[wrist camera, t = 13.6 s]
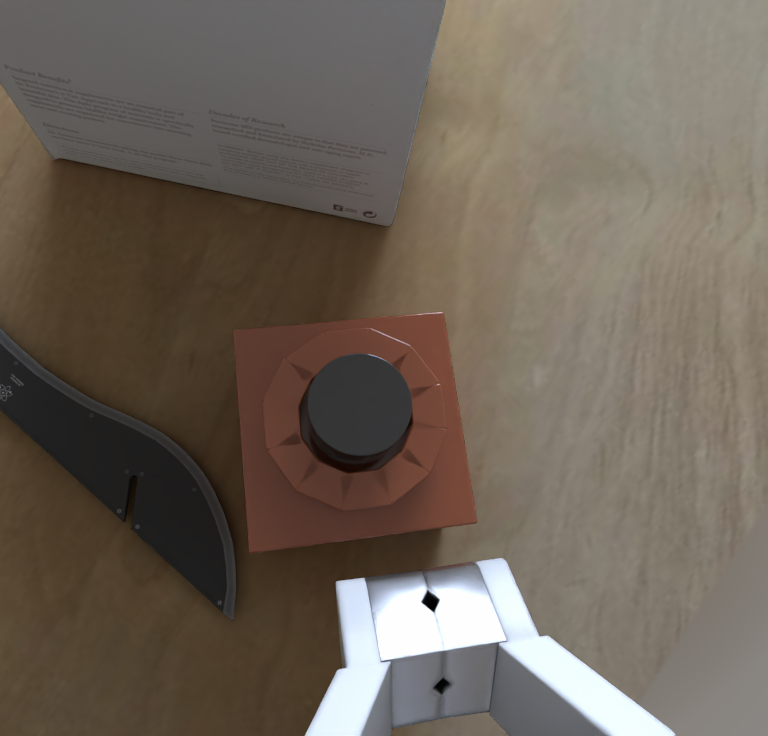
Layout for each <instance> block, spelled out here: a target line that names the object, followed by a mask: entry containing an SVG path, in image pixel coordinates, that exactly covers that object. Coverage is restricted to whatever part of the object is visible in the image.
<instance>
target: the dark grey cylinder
mask: <svg viewBox="0 0 768 736" xmlns="http://www.w3.org/2000/svg"><path fill="white" fill-rule="evenodd" d="M307 407H308V424H309V429H310V432H311V435H312V437H313V439H314V441H315V443H316V444H317V446H318V447H319V448H320V449H321V450H322V451H323V452H324V453H325V454H326V455H328V456H329V457H331V458H332V459H334V460H336V461H339V462H342V463H346V464H365V463H369V462H372V461H374V460H376V459H379V458H380V457H382V456H383V455H385V454H386V453H387V452H388V451H389V450H390V449H391V448H392V447H393V445H394V444H395V443H396V442H397V441H398V440H399V439H400V437H401V436H402V435H403V433H404V432H405V430H406V428H407V426H408V424H409V421H410V418H411V413H412V398H411V393H410V390H409V387H408V384H407V382H406V380H405V379H404V377H403V376H402V374H401V373H400V372H399V371H398V370H397V368H395V367H394V366H393V365H392V364H391V363H389V362H388V361H386V360H384V359H382V358H380V357H377V356H375V355H370V354H364V353H353V354H347V355H344V356H341V357H338V358H336V359H334V360H332V361H331V362H329V363H328V364H327V365H325V366H324V367H323V368H322V369H321V370H320V371H319V372H318V374H317V375H316V377H315V378H314V380H313V382H312V384H311V387H310V389H309V394H308V401H307Z"/></svg>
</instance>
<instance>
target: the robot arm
mask: <svg viewBox="0 0 768 736" xmlns="http://www.w3.org/2000/svg"><path fill="white" fill-rule="evenodd" d="M335 585H336V599H337V613H338V626H339V638H340V650H341V659H342V667H343V669H338V670H337V672H336V674H335V676H334V678H333V680H332V682H331V684H330V686H329V688H328V690H327V692H326V694H325V696H324V698H323V700H322V702H321V704H320V706H319V708H318V710H317V712H316V714H315V716H314V718H313V720H312V722H311V724H310V726H309V728H308V730H307V732H306V734H305V736H391V733H392V729H394V728H398V727H403V726H408V725H413V724H418V723H423V722H427V721H432V720H437V719H443V718H449V717H456V716H463V715H470V714H476V713H483V712H490V715H491V716H492V717H493V718H494V720H495V721H496V722H497V723H498V724H499V725H500V726H501V727H502V728H503V729H504V730H505V731H506V732H507V734H508V735H509V736H675V734H674V732H673V731H672V730H670V729H669V728H668V727H666V726H665V725H664V724H662V723H661V722H660V721H658V720H657V719H656V718H655V717H653V716H652V715H651V714H650V713H648V712H647V711H646V710H644V709H643V708H641V707H640V706H639V705H638V704H637V703H635V702H634V701H633V700H631V699H630V698H629V697H627V696H626V695H625V694H623V693H622V692H621V691H620V690H618V689H617V688H616V687H614V686H613V685H612V684H610V683H609V682H608V681H606V680H605V679H604V678H603V677H601V676H600V675H599V674H597V673H596V672H595V671H593V670H592V669H591V668H589V667H588V666H587V665H586V664H584V663H583V662H582V661H580V660H579V659H578V658H576V657H575V656H574V655H572V654H571V653H570V652H569V651H567V650H566V649H565V648H563V647H562V646H561V645H559V644H558V643H557V642H556V641H554V640H553V639H552V638H550V637H549V636H540V637H539V634H538V632H537V630H536V628H535V625H534V623H533V621H532V619H531V616H530V614H529V612H528V609H527V607H526V605H525V603H524V600H523V598H522V596H521V594H520V591H519V589H518V587H517V584H516V582H515V580H514V578H513V575H512V573H511V571H510V569H509V566H508V564H507V562H506V561H505V560H504V559H503V558H499V559H492V560H485V561H478V562H467V563H461V564H455V565H448V566H442V567H436V568H429V569H423V570H420V571H416V572H407V573H398V574H390V575H381V576H373V577H365V579H364V578H358V579H350V580H342V581H336V584H335Z"/></svg>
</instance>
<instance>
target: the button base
mask: <svg viewBox="0 0 768 736" xmlns="http://www.w3.org/2000/svg"><path fill="white" fill-rule="evenodd" d="M233 338H234V352H235V366H236V380H237V394H238V408H239V422H240V436H241V450H242V464H243V478H244V492H245V505H246V519H247V533H248V547H249V553H259V552H266V551H274V550H281V549H289V548H296V547H304V546H311V545H318V544H326V543H333V542H341V541H348V540H356V539H363V538H371V537H378V536H386V535H393V534H401V533H408V532H416V531H423V530H431V529H438V528H446V527H453V526H461V525H468V524H476V523H477V517H476V511H475V505H474V498H473V492H472V486H471V480H470V473H469V467H468V461H467V454H466V448H465V442H464V436H463V429H462V423H461V417H460V411H459V404H458V398H457V392H456V386H455V379H454V373H453V367H452V361H451V354H450V348H449V342H448V335H447V329H446V323H445V317H444V313H443V312H436V313H424V314H412V315H401V316H389V317H377V318H366V319H354V320H342V321H331V322H319V323H307V324H296V325H284V326H272V327H261V328H249V329H237V330H233ZM353 353H364V354H370V355H375V356H377V357H380V358H382V359H384V360H386V361H388V362H389V363H391V364H392V365H393V366H394V367H395V368H397V370H398V371H399V372H400V373H401V374H402V376H403V377H404V379H405V380H406V382H407V384H408V387H409V390H410V393H411V398H412V413H411V418H410V421H409V424H408V426H407V428H406V430H405V432H404V433H403V435H402V436H401V437H400V439H399V440H398V441H397V442H396V443H395V444H394V445H393V447H392V448H391V449H390V450H389V451H388V452H387V453H386V454H385V455H383V456H382V457H380V458H379V459H376V460H374V461H372V462H369V463H365V464H346V463H342V462H339V461H336V460H334V459H332V458H331V457H329V456H328V455H326V454H325V453H324V452H323V451H322V450H321V449H320V448H319V447H318V446H317V444H316V443H315V441H314V439H313V437H312V435H311V432H310V429H309V424H308V407H307V401H308V394H309V389H310V387H311V384H312V382H313V380H314V378H315V377H316V375H317V374H318V372H319V371H320V370H321V369H322V368H323V367H324V366H325V365H327V364H328V363H329V362H331V361H332V360H334V359H336V358H338V357H341V356H344V355H347V354H353Z"/></svg>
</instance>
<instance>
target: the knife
mask: <svg viewBox="0 0 768 736" xmlns="http://www.w3.org/2000/svg"><path fill="white" fill-rule="evenodd" d="M0 410H1V411H3V412H4V413H5V414H6V415H7V416H8V417H9V418H10V419H11V420H12V421H13V422H15V423H16V424H17V425H18V426H19V427H20V428H21V429H22V430H23V431H24V432H26V433H27V434H28V435H29V436H30V437H31V438H32V439H33V440H34V441H35V442H36V443H38V444H39V445H40V446H41V447H42V448H43V449H44V450H45V451H46V452H47V453H49V454H50V455H51V456H52V457H53V458H54V459H55V460H56V461H57V462H58V463H59V464H61V465H62V466H63V467H64V468H65V469H66V470H67V471H68V472H69V473H70V474H72V475H73V476H74V477H75V478H76V479H77V480H78V481H79V482H80V483H81V484H82V485H84V486H85V487H86V488H87V489H88V490H89V491H90V492H91V493H92V494H93V495H95V496H96V497H97V498H98V499H99V500H100V501H101V502H102V503H103V504H104V505H105V506H107V507H108V508H109V509H110V510H111V511H112V512H113V513H114V514H115V515H116V516H118V517H119V518H120V519H121V520H122V521H123V522H126V515H127V507H128V500H129V492H130V485H131V479H132V477H133V476H137V477H138V481H137V489H136V496H135V504H134V511H133V519H132V526H131V529H132V530H133V531H134V532H135V533H136V534H137V535H138V536H139V537H141V538H142V539H143V540H144V541H145V542H146V543H147V544H148V545H149V546H150V547H151V548H153V549H154V550H155V551H156V552H157V553H158V554H159V555H160V556H161V557H162V558H164V559H165V560H166V561H167V562H168V563H169V564H170V565H171V566H172V567H173V568H175V569H176V570H177V571H178V572H179V573H180V574H181V575H182V576H183V577H184V578H185V579H187V580H188V581H189V582H190V583H191V584H192V585H193V586H194V587H195V588H196V589H198V590H199V591H200V592H201V593H202V594H203V595H204V596H205V597H206V598H207V599H208V600H210V601H211V602H212V603H213V604H214V605H215V606H216V607H217V608H218V609H219V610H221V611H222V612H223V613H224V614H225V615H226V616H228V617H229V618H230V619H231V620H232V621H233V617H234V606H235V596H236V571H235V558H234V550H233V542H232V538H231V535H230V531H229V528H228V524H227V521H226V518H225V514H224V512H223V510H222V507H221V505H220V503H219V501H218V498H217V496H216V494H215V492H214V490H213V488H212V487H211V485H210V483H209V481H208V479H207V477H206V476H205V474H204V473H203V472H202V470H201V469H200V468H199V467H198V465H197V464H196V463H195V462H194V461H193V460H192V458H191V457H190V456H189V455H188V454H187V453H186V452H185V451H184V450H183V449H182V448H180V447H179V446H178V445H177V444H176V443H175V442H174V441H172V440H171V439H170V438H168V437H167V436H166V435H164V434H163V433H162V432H160V431H158V430H156V429H154V428H152V427H151V426H149V425H147V424H145V423H143V422H141V421H139V420H137V419H135V418H132V417H130V416H128V415H126V414H124V413H122V412H119V411H117V410H115V409H112V408H110V407H108V406H105V405H103V404H101V403H99V402H97V401H95V400H93V399H91V398H89V397H87V396H86V395H84V394H82V393H81V392H79V391H77V390H76V389H74V388H73V387H71V386H70V385H68V384H66V383H65V382H63V381H62V380H60V379H59V378H57V377H56V376H55V375H53V374H52V373H50V372H49V371H47V370H46V369H45V368H43V367H42V366H41V365H40V364H39V363H37V362H36V361H35V360H34V359H33V358H31V357H30V356H29V355H28V354H27V353H26V352H25V351H24V350H22V349H21V348H20V347H19V346H18V345H17V344H16V343H15V342H14V341H13V340H12V339H11V338H10V337H9V336H8V335H7V334H6V333H5V332H4V331H3V330H2V329H1V328H0Z"/></svg>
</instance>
